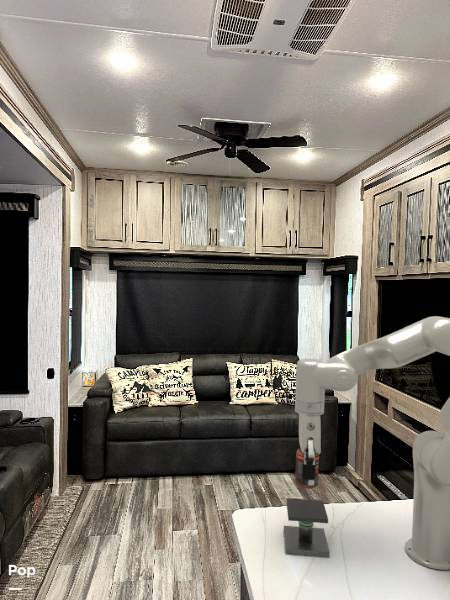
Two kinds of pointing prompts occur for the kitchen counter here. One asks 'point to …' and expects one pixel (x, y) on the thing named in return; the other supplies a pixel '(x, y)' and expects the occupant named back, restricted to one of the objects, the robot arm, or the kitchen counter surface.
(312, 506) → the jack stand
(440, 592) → the kitchen counter surface
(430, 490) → the robot arm
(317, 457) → the supplement bottle
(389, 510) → the kitchen counter surface
